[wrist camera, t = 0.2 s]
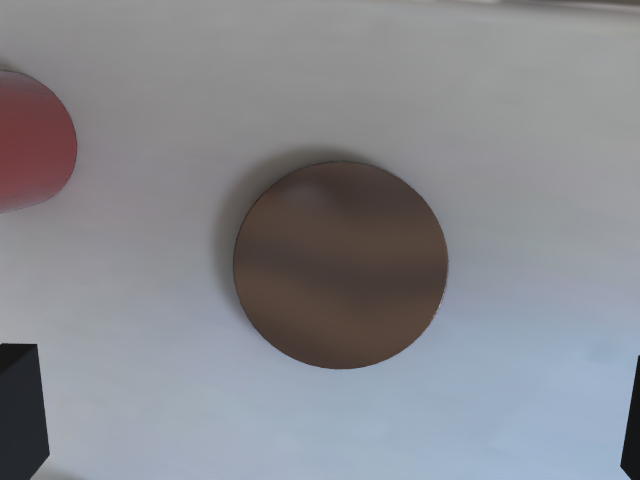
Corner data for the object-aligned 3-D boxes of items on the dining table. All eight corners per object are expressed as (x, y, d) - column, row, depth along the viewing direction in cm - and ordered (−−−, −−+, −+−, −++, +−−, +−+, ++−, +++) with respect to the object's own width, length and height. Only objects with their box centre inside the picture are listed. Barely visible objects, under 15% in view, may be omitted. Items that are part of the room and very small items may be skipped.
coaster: (234, 156, 32) (232, 157, 31) (455, 164, 31) (458, 165, 31) (235, 359, 35) (233, 364, 34) (437, 369, 34) (439, 374, 33)
